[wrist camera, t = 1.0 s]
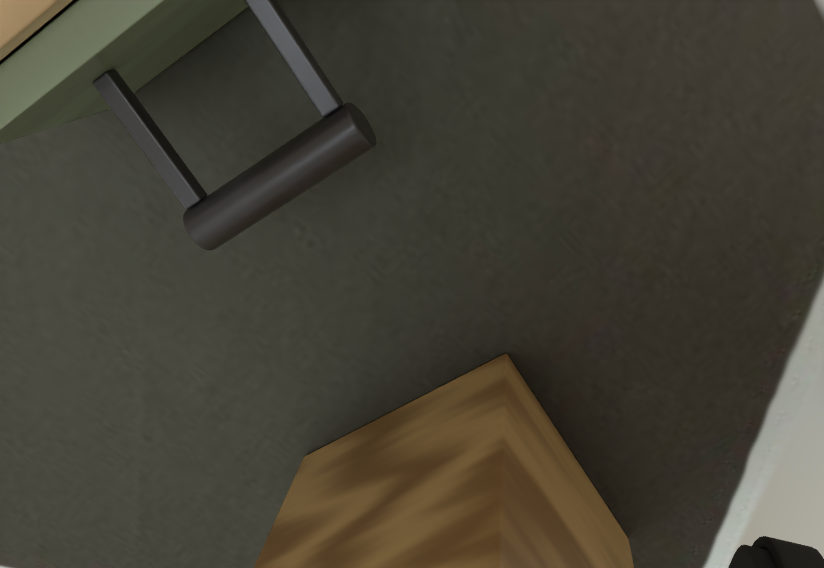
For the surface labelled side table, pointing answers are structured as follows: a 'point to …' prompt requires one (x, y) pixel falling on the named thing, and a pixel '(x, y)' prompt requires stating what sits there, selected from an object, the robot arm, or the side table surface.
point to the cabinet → (23, 21)
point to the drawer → (114, 89)
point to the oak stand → (449, 489)
